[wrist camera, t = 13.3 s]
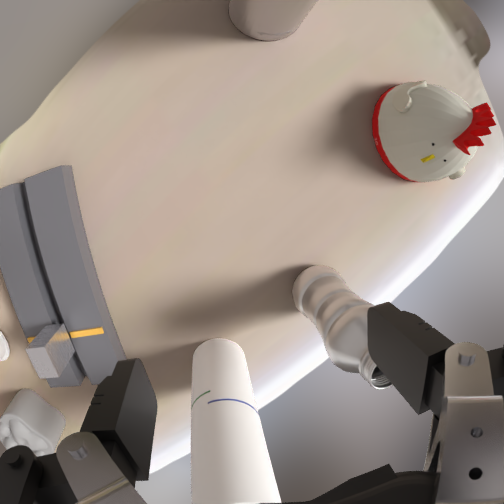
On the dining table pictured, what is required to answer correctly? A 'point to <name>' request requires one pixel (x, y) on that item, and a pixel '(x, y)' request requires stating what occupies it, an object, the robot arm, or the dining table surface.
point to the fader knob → (51, 351)
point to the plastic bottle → (338, 321)
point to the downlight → (3, 348)
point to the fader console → (56, 273)
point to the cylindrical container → (227, 430)
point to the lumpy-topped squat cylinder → (31, 423)
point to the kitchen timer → (428, 131)
